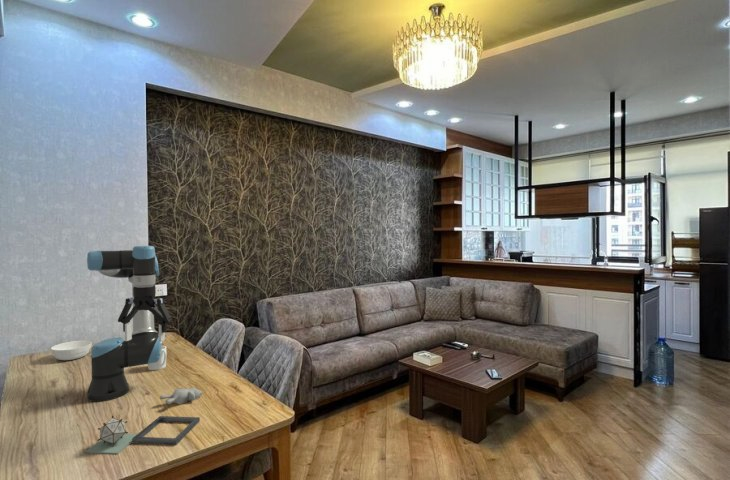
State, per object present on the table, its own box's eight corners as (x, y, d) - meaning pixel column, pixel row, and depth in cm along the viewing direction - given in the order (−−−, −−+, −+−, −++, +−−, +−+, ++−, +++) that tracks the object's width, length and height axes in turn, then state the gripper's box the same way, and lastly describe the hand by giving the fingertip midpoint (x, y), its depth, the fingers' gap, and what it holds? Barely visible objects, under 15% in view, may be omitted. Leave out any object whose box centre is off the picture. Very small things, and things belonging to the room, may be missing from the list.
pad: (85, 452, 121) (85, 451, 121) (110, 434, 132) (110, 433, 132) (117, 454, 120) (117, 452, 120) (140, 435, 131) (140, 434, 131)
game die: (110, 451, 127) (109, 420, 132) (134, 441, 128) (133, 411, 133) (90, 452, 119) (90, 419, 124) (116, 441, 120) (115, 409, 125)
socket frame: (132, 443, 127) (132, 438, 126) (160, 419, 142) (160, 416, 142) (176, 444, 125) (176, 440, 125) (199, 421, 141) (199, 417, 141)
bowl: (98, 356, 214) (98, 343, 214) (58, 366, 198) (58, 352, 198) (84, 350, 224) (83, 338, 224) (45, 359, 208) (45, 346, 208)
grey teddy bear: (205, 389, 160) (168, 397, 149) (204, 401, 159) (166, 410, 148) (195, 383, 166) (159, 390, 155) (194, 395, 166) (157, 403, 155)
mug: (143, 369, 193) (142, 349, 193) (158, 363, 201) (158, 344, 201) (158, 372, 189) (158, 352, 189) (173, 366, 197) (173, 347, 197)
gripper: (106, 286, 143) (107, 342, 143) (169, 287, 141) (170, 344, 141) (120, 284, 150) (121, 337, 151) (180, 284, 148) (181, 338, 149)
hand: (145, 340), depth 146 cm, fingers open, 13 cm apart
